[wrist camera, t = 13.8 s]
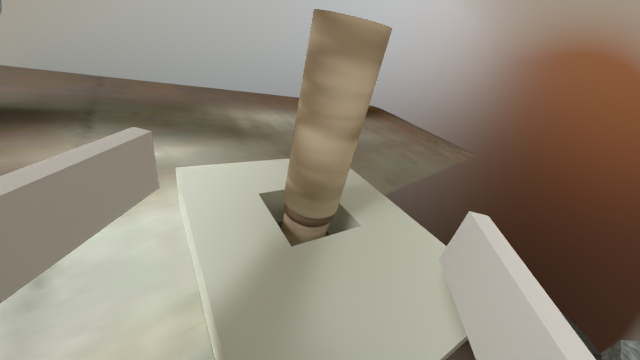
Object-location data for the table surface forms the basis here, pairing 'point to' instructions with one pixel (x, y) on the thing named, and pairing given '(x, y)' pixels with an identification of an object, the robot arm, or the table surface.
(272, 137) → the table surface
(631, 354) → the mortar and pestle
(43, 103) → the table surface
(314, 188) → the beech leg
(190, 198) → the board
